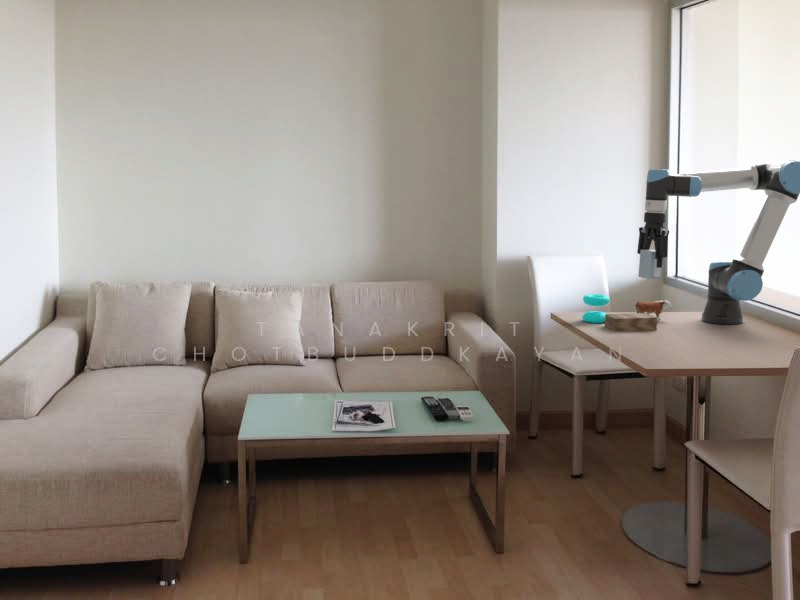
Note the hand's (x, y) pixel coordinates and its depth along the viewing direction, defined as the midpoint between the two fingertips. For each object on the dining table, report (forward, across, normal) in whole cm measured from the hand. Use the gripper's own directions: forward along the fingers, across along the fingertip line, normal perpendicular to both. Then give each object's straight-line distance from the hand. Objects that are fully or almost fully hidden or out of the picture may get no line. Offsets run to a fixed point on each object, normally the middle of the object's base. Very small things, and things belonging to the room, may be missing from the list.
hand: (650, 275), depth 352 cm
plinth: (+20, -3, -5) cm, 21 cm away
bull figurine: (+20, -13, +14) cm, 28 cm away
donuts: (+21, -20, -8) cm, 30 cm away
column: (+1, 0, 0) cm, 1 cm away
